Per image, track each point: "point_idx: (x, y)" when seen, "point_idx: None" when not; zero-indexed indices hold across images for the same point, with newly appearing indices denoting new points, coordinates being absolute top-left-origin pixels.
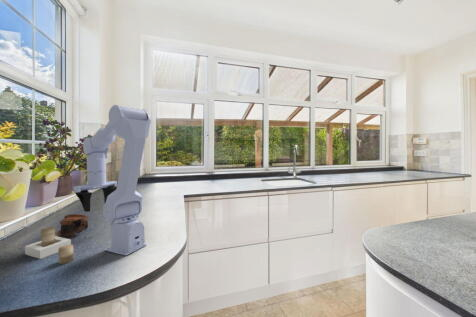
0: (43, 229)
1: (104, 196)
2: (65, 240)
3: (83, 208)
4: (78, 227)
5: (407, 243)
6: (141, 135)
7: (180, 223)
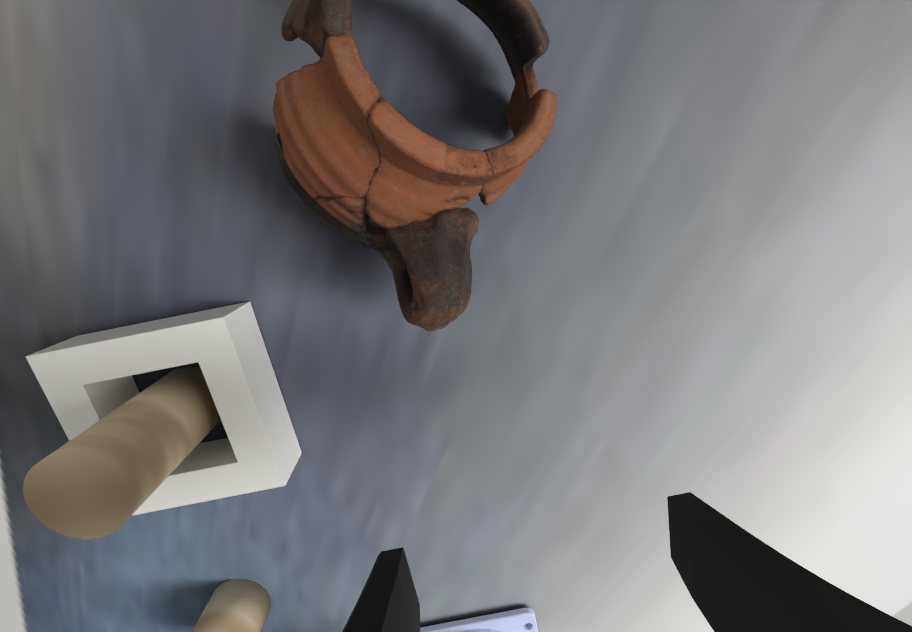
0: (42, 494)
1: (785, 611)
2: (255, 471)
3: (366, 583)
4: (397, 285)
5: None
6: None
7: (884, 612)
